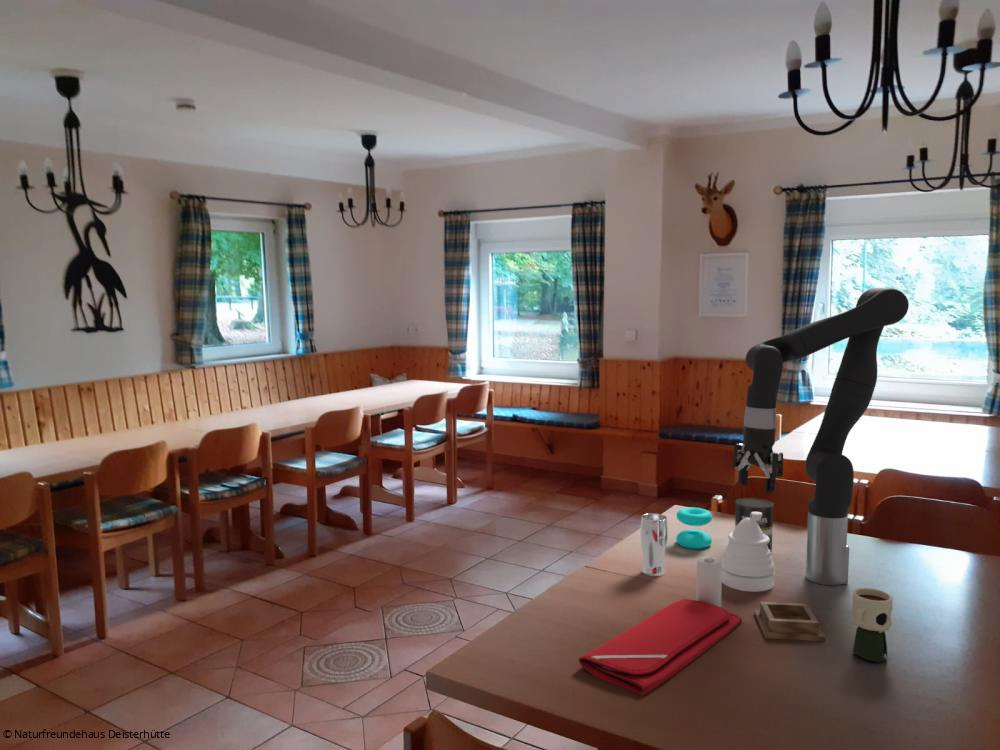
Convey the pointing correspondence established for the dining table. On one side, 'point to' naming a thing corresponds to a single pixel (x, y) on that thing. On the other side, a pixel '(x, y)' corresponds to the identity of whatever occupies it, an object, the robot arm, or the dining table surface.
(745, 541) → the honey pot
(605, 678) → the red folded cloth
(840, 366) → the robot arm
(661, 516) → the beer glass
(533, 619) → the dining table surface
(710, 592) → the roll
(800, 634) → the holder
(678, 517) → the donuts
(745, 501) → the coffee can
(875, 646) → the character mug
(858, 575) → the dining table surface
